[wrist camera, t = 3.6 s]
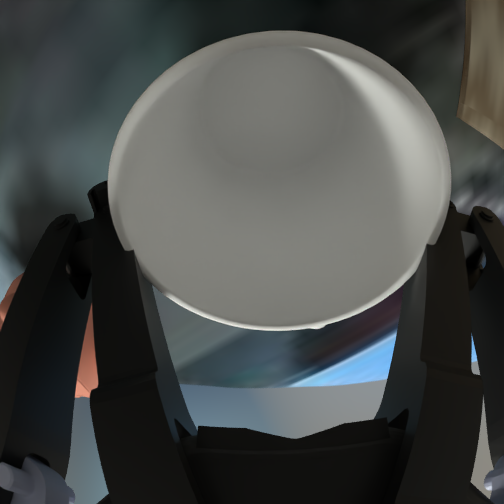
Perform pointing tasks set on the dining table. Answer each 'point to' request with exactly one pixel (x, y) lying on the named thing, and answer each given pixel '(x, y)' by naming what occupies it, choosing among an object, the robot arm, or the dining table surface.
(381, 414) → the robot arm
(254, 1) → the dining table surface
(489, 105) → the wooden tray
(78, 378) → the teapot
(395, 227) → the cup
